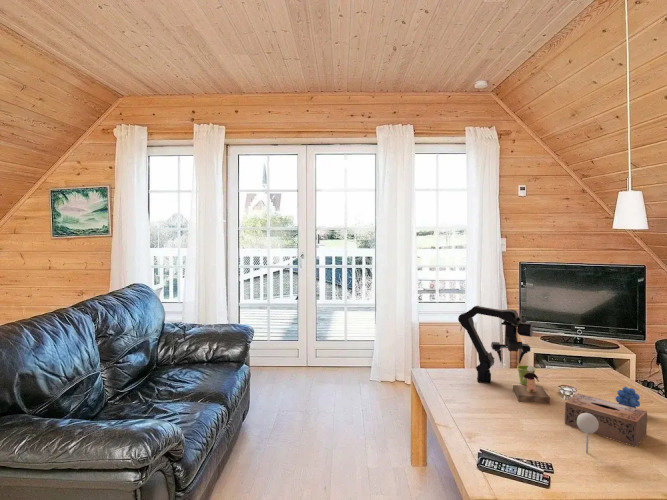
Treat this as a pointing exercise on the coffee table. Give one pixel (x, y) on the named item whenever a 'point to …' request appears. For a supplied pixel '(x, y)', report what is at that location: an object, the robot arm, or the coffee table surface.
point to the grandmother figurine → (530, 379)
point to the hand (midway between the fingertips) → (509, 362)
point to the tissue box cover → (609, 418)
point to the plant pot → (523, 373)
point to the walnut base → (531, 394)
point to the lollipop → (587, 425)
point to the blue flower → (628, 397)
